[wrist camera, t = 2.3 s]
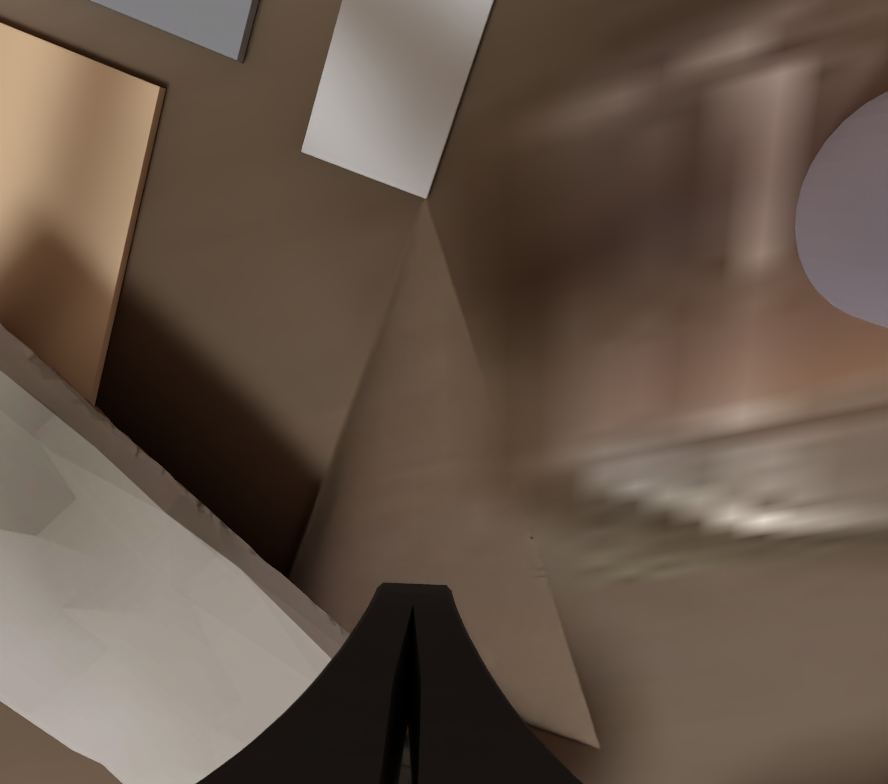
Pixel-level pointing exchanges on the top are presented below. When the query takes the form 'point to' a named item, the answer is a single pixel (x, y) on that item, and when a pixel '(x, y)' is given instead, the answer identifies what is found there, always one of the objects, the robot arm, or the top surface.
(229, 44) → the slate pad
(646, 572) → the top surface
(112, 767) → the packaged product
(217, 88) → the top surface
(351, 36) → the brown and white block
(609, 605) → the top surface
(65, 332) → the cork trivet
